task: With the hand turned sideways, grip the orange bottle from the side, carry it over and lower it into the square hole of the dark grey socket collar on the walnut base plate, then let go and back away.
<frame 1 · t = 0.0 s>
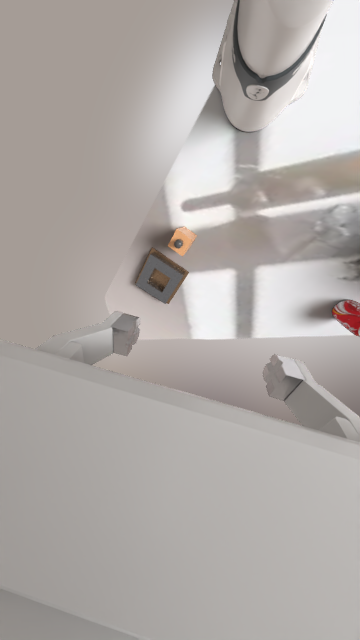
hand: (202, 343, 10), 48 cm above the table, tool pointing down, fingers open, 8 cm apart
socket: (161, 277, 59), on the table
soda can: (342, 308, 54), on the table
orange bottle: (186, 238, 51), on the table
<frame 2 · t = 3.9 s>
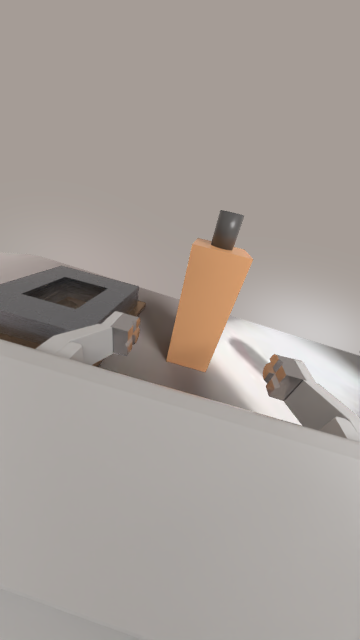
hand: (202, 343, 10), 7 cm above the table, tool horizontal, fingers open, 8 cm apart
socket: (73, 315, 22), on the table
orange bottle: (188, 353, 20), on the table
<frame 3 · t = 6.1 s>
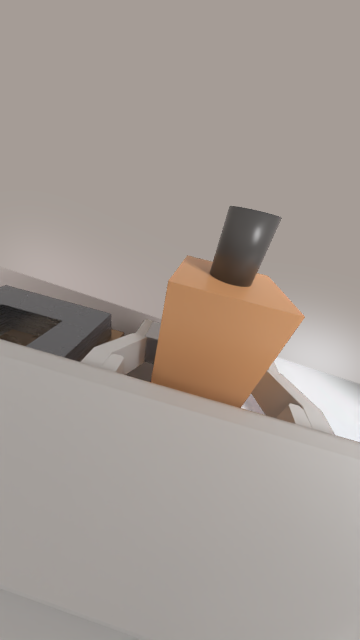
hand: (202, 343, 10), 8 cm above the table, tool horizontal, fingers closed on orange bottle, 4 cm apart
socket: (12, 362, 15), on the table
orange bottle: (176, 421, 14), on the table, touching gripper
when the fingers open (9 cm above the table, at t = 12.2 s): orange bottle stays where it is, resting on socket.
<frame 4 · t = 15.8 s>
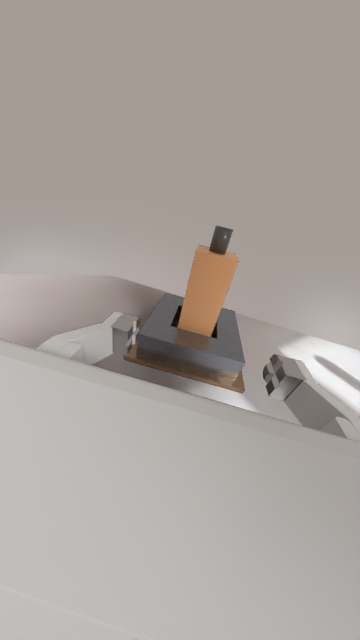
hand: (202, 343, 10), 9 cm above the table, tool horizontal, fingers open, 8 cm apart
socket: (190, 339, 25), on the table
orange bottle: (191, 336, 25), point 1 cm above the table, touching socket
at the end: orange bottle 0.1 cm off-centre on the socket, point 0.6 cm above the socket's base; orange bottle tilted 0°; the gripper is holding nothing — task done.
